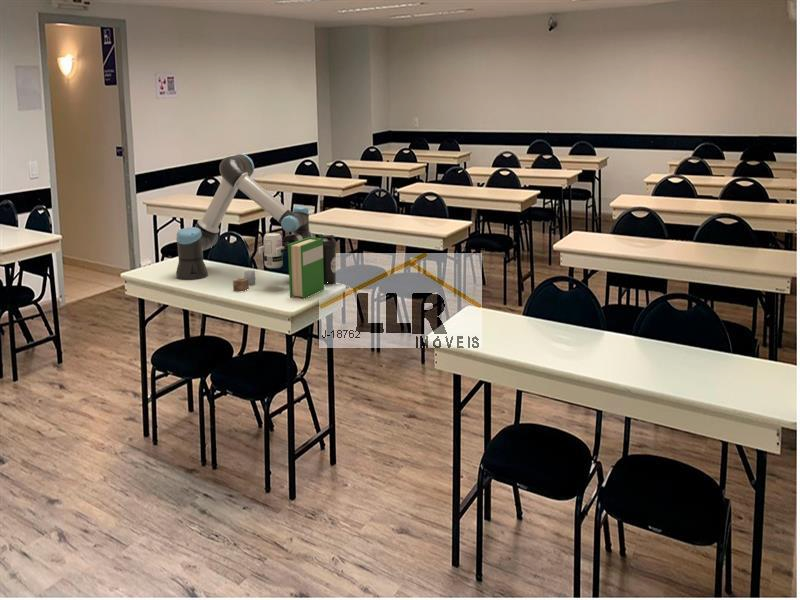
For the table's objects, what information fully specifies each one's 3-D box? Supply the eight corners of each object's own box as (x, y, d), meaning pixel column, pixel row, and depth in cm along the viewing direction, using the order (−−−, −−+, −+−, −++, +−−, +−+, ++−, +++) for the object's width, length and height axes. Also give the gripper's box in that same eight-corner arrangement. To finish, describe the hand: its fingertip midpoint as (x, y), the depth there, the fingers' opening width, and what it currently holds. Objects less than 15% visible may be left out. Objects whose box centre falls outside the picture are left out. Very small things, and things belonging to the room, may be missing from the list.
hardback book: (304, 298, 328) (302, 245, 321) (289, 297, 330) (287, 244, 324) (324, 289, 343) (322, 238, 337) (310, 287, 346) (308, 237, 339)
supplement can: (265, 264, 345) (264, 232, 341) (283, 264, 346) (282, 232, 342) (263, 268, 338) (262, 236, 333) (282, 268, 338) (281, 236, 334)
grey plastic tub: (243, 285, 351) (242, 272, 349) (247, 282, 355) (246, 270, 354) (252, 285, 349) (251, 273, 348) (257, 283, 354) (256, 270, 353)
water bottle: (334, 286, 349) (332, 237, 343) (313, 284, 351) (311, 237, 345) (339, 280, 359) (338, 233, 352) (319, 279, 361) (318, 233, 354)
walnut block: (233, 291, 340) (233, 280, 339) (239, 288, 345) (239, 278, 344) (243, 292, 339) (242, 281, 337) (248, 289, 343) (248, 279, 342)
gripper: (311, 251, 353) (288, 261, 333) (273, 248, 360) (248, 257, 340) (311, 236, 351) (288, 245, 331) (272, 232, 358) (247, 241, 338)
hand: (267, 251), depth 335 cm, fingers closed on supplement can, 8 cm apart
